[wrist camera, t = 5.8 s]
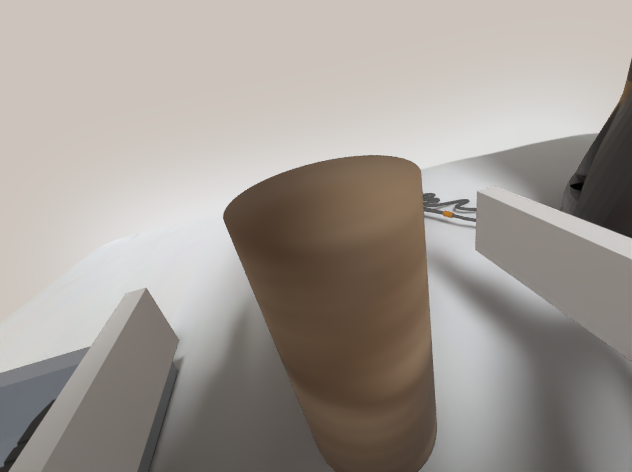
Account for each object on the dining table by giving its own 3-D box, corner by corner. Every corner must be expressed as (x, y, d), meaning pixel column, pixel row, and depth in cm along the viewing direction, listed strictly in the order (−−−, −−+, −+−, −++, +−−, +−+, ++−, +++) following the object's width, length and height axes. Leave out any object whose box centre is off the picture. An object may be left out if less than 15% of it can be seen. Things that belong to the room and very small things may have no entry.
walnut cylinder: (402, 348, 15) (376, 145, 10) (465, 460, 10) (470, 188, 5) (305, 379, 14) (231, 185, 10) (325, 508, 10) (209, 264, 5)
